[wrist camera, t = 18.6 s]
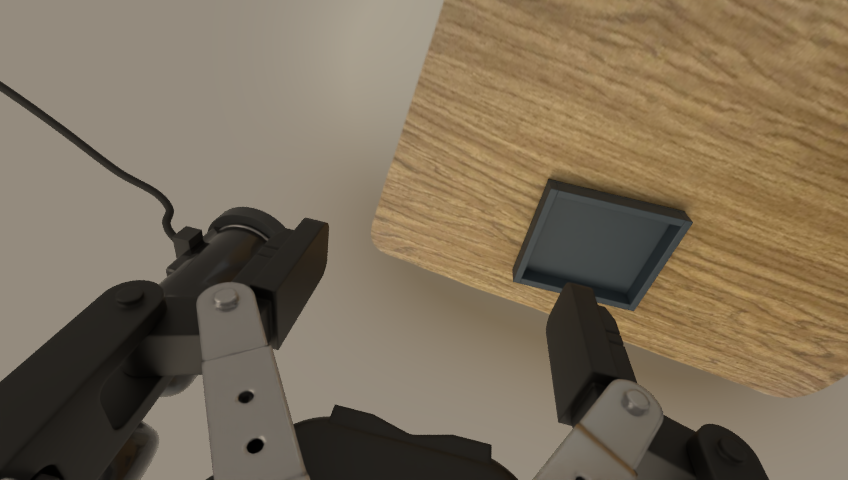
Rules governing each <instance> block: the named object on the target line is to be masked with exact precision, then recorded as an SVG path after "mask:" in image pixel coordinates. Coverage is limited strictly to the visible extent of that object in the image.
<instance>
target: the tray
mask: <svg viewBox="0 0 848 480" xmlns="http://www.w3.org/2000/svg"><path fill="white" fill-rule="evenodd" d="M692 223H693V222H692V220H691V219H690V218H689V217H688V216H687V214H686V213H685V212H684V211H682V210H677V209H673V208H669V207H665V206H660V205H656V204H652V203H648V202H643V201H639V200H635V199H631V198H627V197H622V196H618V195H614V194H610V193H605V192H601V191H597V190H593V189H588V188H584V187H580V186H576V185H572V184H567V183H563V182H559V181H555V180H550V179H548V182H547V184H546V187H545V189H544V192H543V194H542V197H541V199H540V202H539V204H538V207H537V209H536V212H535V214H534V217H533V219H532V222H531V224H530V227H529V229H528V232H527V235H526V237H525V240H524V242H523V245H522V247H521V250H520V252H519V255H518V257H517V260H516V262H515V265H514V267H513V282H516V283H520V284H524V285H528V286H532V287H537V288H541V289H545V290H549V291H553V292H557V293H561V291H562V289H563V288H564V286H565V284H566V283H568V282H569V283H573V284H577V285H582V286H586V287H590V288H592V289H593V291H594V294H595V297H596V301H597V302H598V303H602V304H606V305H610V306H614V307H618V308H622V309H626V310H627V309H628V310H631V311H634V310H635V309H636V307H637V306H638V304H639V303H640V301H641V300H642V298H643V297H644V295H645V294H646V292H647V291H648V289H649V288H650V286H651V285H652V283H653V282H654V280H655V279H656V277H657V276H658V274H659V273H660V271H661V270H662V268H663V267H664V265H665V264H666V262H667V261H668V259H669V258H670V256H671V255H672V253H673V252H674V250H675V249H676V247H677V246H678V244H679V243H680V241H681V240H682V238H683V237H684V235H685V234H686V232H687V231H688V229H689V228H690V226H691V225H692Z"/></svg>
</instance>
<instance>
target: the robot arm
mask: <svg viewBox="0 0 848 480" xmlns="http://www.w3.org/2000/svg"><path fill="white" fill-rule="evenodd" d="M0 91H1V92H3V93H4V94H6V95H7V96H8V97H10V98H11V99H13V100H14V101H16V102H17V103H19V104H20V105H21V106H23V107H24V108H26V109H27V110H29V111H30V112H31V113H33V114H34V115H36V116H37V117H39V118H40V119H41V120H43V121H44V122H46V123H47V124H48V125H50V126H51V127H52V128H54V129H55V130H56V131H58V132H59V133H60V134H62V135H63V136H65V137H66V138H67V139H69V140H70V141H71V142H73V143H74V144H75V145H77V146H78V147H79V148H80V149H82V150H83V151H84V152H86V153H87V154H88V155H89V156H91V157H92V158H93V159H95V160H96V161H97V162H99V163H100V164H102V165H103V166H104V167H105V168H107V169H108V170H110V171H111V172H112V173H114V174H115V175H117V176H119V177H120V178H122V179H124V180H125V181H127V182H129V183H131V184H133V185H135V186H137V187H139V188H141V189H143V190H145V191H147V192H148V193H150V194H152V195H153V196H155V197H156V198H157V199H158V200H159V201H160V202H161V203H162V204H163V206H164V208H165V209H166V212H165V215H164V217H163V220H162V224H163V228H164V231H165V232H166V234H167V235H168V237H169V238H170V239H171V240H172V241H173V242H174V247H175V252H176V257H177V259H176V260H175V261H174V262H173V263H172V264H171V265H169V266H168V267H167V269H166V273H167V278H166V279H164V280H163V281H162V282H161V283H160V284H159V285H158V284H157V283H154V282H151V281H145V280H136V281H129V282H125V283H121V284H119V285H116V286H114V287H112V288H110V289H108V290H107V291H106V292H104V293H103V294H102V295H101V296H100V297H98V298H97V299H96V300H95V301H94V302H93V303H91V304H90V305H89V306H88V307H87V308H86V309H84V310H83V311H82V312H81V313H80V314H79V315H77V317H75V318H74V319H73V320H72V321H71V322H69V323H68V324H67V325H66V326H65V327H64V328H62V329H61V330H60V331H59V332H58V333H57V334H55V335H54V336H53V337H52V338H51V339H50V340H48V341H47V342H46V343H45V344H44V345H43V346H41V347H40V348H39V349H38V350H37V351H36V352H35V353H33V354H32V355H31V356H30V357H29V358H28V359H26V361H24V362H23V363H22V364H21V365H20V366H18V367H17V368H16V369H15V370H14V371H12V372H11V373H10V374H9V375H8V376H7V377H6V378H4V379H3V380H2V381H1V382H0V480H141V478H142V477H143V475H144V473H145V472H146V470H147V468H148V467H149V465H150V463H151V462H152V459H153V457H154V455H155V453H156V451H157V448H158V444H159V436H158V433H157V432H156V431H155V430H154V429H153V428H152V427H150V426H149V425H148V424H146V423H144V422H143V421H142V420H143V418H144V417H145V416H146V414H147V413H148V411H149V410H150V409H151V407H152V406H153V405H154V403H155V402H156V401H157V399H158V398H159V397H168V396H173V395H176V394H179V393H181V392H182V391H184V390H185V389H186V388H188V386H190V384H191V383H192V382H193V381H194V379H195V378H196V377H197V376H198V375H203V384H204V393H205V403H206V412H207V421H208V430H209V440H210V449H211V459H212V467H213V476H211V477H209V478H208V479H206V480H518V479H517V478H516V477H515V476H514V475H513V474H512V473H511V472H510V471H509V470H508V469H506V468H505V467H504V466H502V465H501V464H500V463H498V462H496V461H495V460H493V459H491V445H490V444H486V443H482V442H479V441H475V440H471V439H467V438H463V437H459V436H455V435H412V434H409V433H406V432H405V431H403V430H401V429H399V428H397V427H395V426H394V425H392V424H390V423H388V422H386V421H384V420H383V419H381V418H379V417H377V416H375V415H373V414H370V413H366V412H362V411H358V410H354V409H350V408H346V407H343V406H338V405H335V406H334V408H333V411H332V414H331V416H330V417H318V418H312V419H308V420H303V421H301V422H298V423H295V424H293V422H292V419H291V415H290V411H289V407H288V404H287V400H286V397H285V393H284V389H283V385H282V382H281V378H280V374H279V371H278V367H277V363H276V360H275V357H274V352H273V349H276V350H279V348H280V346H281V345H282V343H283V341H284V340H285V338H286V336H287V335H288V333H289V331H290V330H291V328H292V326H293V325H294V323H295V321H296V320H297V318H298V316H299V315H300V313H301V311H302V310H303V308H304V306H305V305H306V303H307V301H308V299H309V298H310V296H311V295H312V293H313V291H314V290H315V288H316V286H317V285H318V283H319V281H320V280H321V278H322V276H323V274H324V271H325V268H326V264H327V253H328V236H329V225H328V223H325V222H321V221H318V220H313V219H309V218H304V219H303V220H302V221H301V223H300V224H299V225H298V227H297V228H296V229H295V230H291V229H287V228H286V229H284V230H282V231H280V232H278V233H276V234H274V235H272V236H271V238H269V237H268V236H267V235H266V234H265V233H263V232H262V231H260V230H259V229H257V228H255V227H253V226H250V225H247V224H242V223H232V224H228V225H225V226H224V227H222V228H221V227H214V228H212V229H211V230H210V231H209V232H208V233H207V234H205V235H204V236H203V235H202V230H200V229H195V228H192V227H187V226H186V227H185V228H183V229H182V230H181V231H179V232H178V233H177V234H176V233H175V232H174V230H173V229H172V227H171V224H170V222H171V219H172V217H173V214H174V209H173V206H172V205H171V203H170V201H169V200H168V199H167V198H166V197H165V196H164V195H163V194H162V193H161V192H160V191H158V190H157V189H156V188H154V187H152V186H151V185H149V184H147V183H145V182H143V181H141V180H139V179H137V178H135V177H133V176H132V175H130V174H128V173H126V172H124V171H123V170H121V169H120V168H118V167H117V166H115V165H114V164H113V163H111V162H110V161H109V160H107V159H106V158H105V157H103V156H102V155H101V154H99V153H98V152H97V151H95V150H94V149H93V148H92V147H90V146H89V145H88V144H86V143H85V142H84V141H83V140H81V139H80V138H79V137H77V136H76V135H75V134H74V133H72V132H71V131H70V130H68V129H67V128H66V127H64V126H63V125H62V124H60V123H59V122H57V121H56V120H55V119H53V118H52V117H51V116H49V115H48V114H46V113H45V112H44V111H42V110H41V109H39V108H38V107H37V106H35V105H34V104H32V103H31V102H30V101H28V100H27V99H25V98H24V97H22V96H21V95H20V94H18V93H17V92H15V91H14V90H12V89H11V88H10V87H8V86H7V85H5V84H4V83H2V82H1V81H0ZM619 334H620V332H619V329H618V327H617V324H616V321H615V319H614V318H613V317H612V315H611V314H610V313H609V312H608V310H607V309H606V308H605V307H603V306H599V305H598V304H597V301H596V297H595V294H594V291H593V289H592V288H590V287H586V286H582V285H577V284H573V283H569V282H568V283H566V284H565V286H564V288H563V289H562V291H561V293H560V295H559V297H558V299H557V301H556V303H555V305H554V307H553V309H552V311H551V313H550V315H549V318H548V321H547V326H546V336H547V344H548V351H549V358H550V365H551V373H552V380H553V387H554V395H555V402H556V409H557V417H558V422H559V423H563V424H567V425H571V426H572V427H573V429H572V431H571V432H570V433H569V434H568V436H567V437H566V438H565V439H564V441H563V442H562V443H561V444H560V446H559V447H558V448H557V449H556V451H555V452H554V453H553V454H552V456H551V457H550V458H549V459H548V461H547V462H546V463H545V464H544V466H543V467H542V468H541V469H540V471H539V472H538V473H537V475H536V476H535V477H534V478H533V480H769V479H768V477H767V475H766V473H765V471H764V469H763V467H762V465H761V463H760V461H759V459H758V457H757V455H756V454H755V453H754V451H753V450H752V449H751V448H750V446H749V445H748V444H747V443H746V442H745V441H744V440H742V439H741V438H740V437H739V436H737V435H736V434H735V433H733V432H732V431H730V430H728V429H726V428H724V427H722V426H719V425H715V424H706V425H703V426H702V427H701V428H700V429H699V430H698V431H696V432H695V431H693V430H691V429H689V428H687V427H686V426H683V425H682V424H680V423H678V422H676V421H674V420H672V419H670V418H668V417H667V416H665V415H663V411H662V408H661V406H660V404H659V403H658V401H657V400H656V399H655V397H654V396H653V395H652V394H651V393H650V392H649V391H647V390H646V389H645V388H644V387H642V386H640V385H639V384H637V381H636V378H635V376H634V372H633V370H632V367H631V364H630V361H629V358H628V355H627V352H626V350H625V347H624V346H623V341H622V338H621V336H620V335H619Z"/></svg>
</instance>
